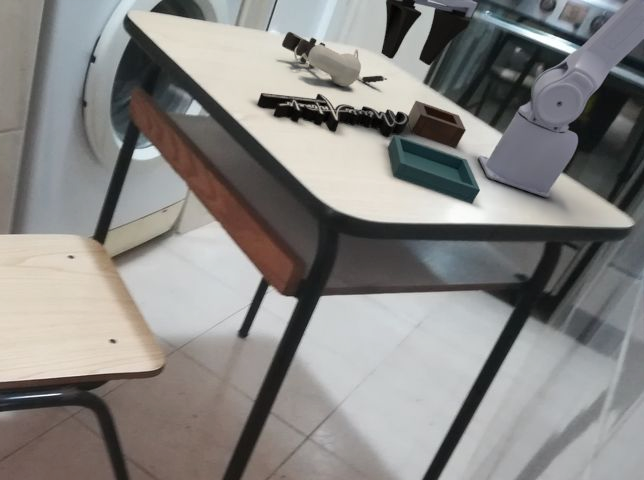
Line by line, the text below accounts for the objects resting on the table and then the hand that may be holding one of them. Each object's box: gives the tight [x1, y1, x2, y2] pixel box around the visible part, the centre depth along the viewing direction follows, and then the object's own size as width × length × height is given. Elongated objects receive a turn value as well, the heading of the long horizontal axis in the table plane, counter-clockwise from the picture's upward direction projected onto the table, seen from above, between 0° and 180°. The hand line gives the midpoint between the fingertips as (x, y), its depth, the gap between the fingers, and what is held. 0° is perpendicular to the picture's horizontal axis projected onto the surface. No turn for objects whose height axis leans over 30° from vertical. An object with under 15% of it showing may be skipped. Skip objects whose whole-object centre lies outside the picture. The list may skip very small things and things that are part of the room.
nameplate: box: [256, 92, 409, 138], centre depth 100 cm, size 28×2×10 cm
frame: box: [407, 100, 467, 149], centre depth 107 cm, size 8×7×3 cm
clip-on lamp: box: [281, 31, 388, 87], centre depth 115 cm, size 12×6×18 cm
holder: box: [387, 134, 481, 204], centre depth 92 cm, size 11×11×2 cm
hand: (405, 59), depth 98 cm, fingers open, 7 cm apart
